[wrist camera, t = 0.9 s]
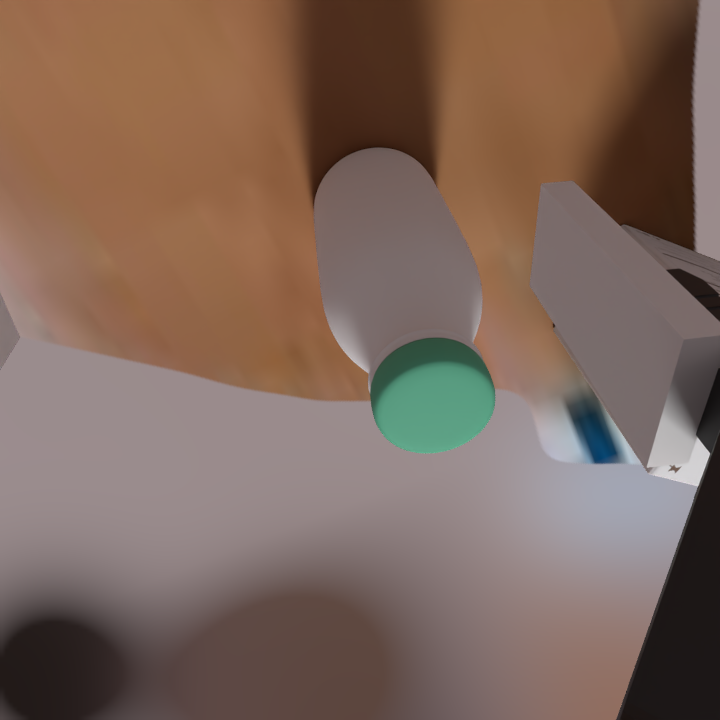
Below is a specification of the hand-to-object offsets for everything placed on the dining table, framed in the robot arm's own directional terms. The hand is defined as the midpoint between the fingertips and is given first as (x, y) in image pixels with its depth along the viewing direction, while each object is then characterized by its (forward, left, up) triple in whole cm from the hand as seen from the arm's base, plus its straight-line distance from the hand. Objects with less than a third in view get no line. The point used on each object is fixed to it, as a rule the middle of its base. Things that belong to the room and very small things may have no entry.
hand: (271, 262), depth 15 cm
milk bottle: (+8, +5, -24) cm, 26 cm away
